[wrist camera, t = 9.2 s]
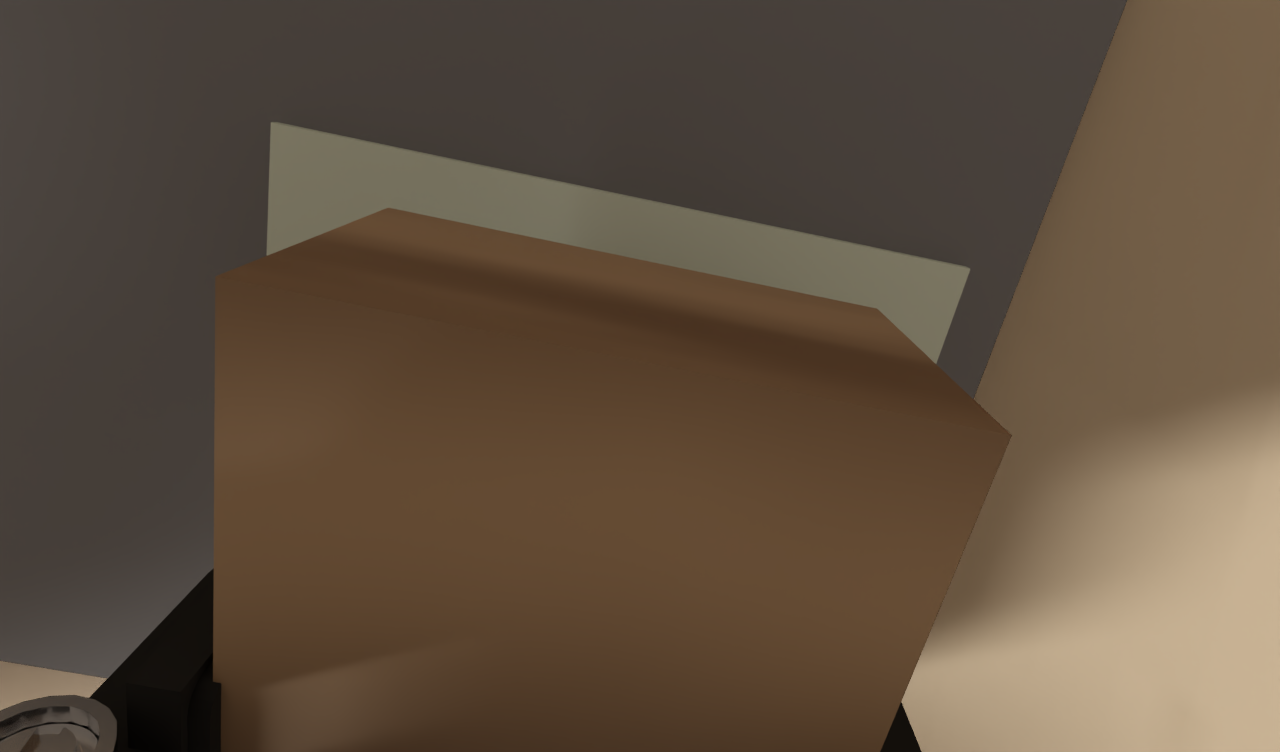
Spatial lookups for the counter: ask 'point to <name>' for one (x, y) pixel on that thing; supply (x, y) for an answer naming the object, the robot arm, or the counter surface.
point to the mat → (462, 206)
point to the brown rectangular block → (570, 501)
